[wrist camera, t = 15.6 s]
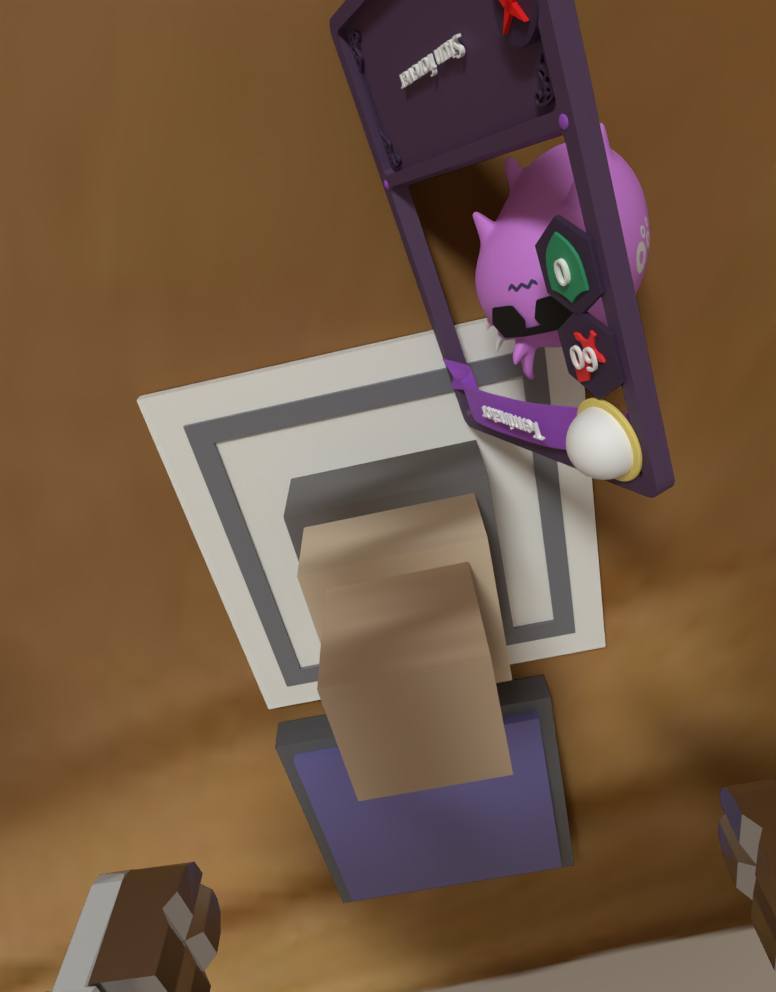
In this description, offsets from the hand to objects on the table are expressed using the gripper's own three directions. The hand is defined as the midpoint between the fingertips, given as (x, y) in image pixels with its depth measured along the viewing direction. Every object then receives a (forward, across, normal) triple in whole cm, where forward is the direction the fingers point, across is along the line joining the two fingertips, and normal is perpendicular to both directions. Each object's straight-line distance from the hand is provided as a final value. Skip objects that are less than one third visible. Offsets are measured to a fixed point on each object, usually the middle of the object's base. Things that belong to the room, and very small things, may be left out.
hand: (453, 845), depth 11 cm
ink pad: (+10, +2, +12) cm, 15 cm away
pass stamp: (+10, +1, 0) cm, 10 cm away
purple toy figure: (+10, -3, -7) cm, 13 cm away
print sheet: (+10, +1, 0) cm, 10 cm away
